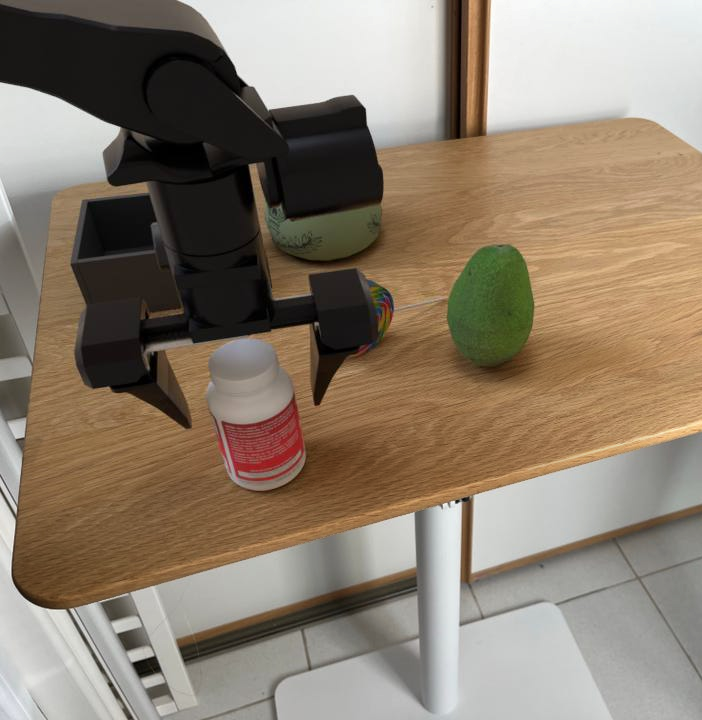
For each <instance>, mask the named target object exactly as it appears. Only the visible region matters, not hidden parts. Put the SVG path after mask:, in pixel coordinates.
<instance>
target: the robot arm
mask: <svg viewBox="0 0 702 720" xmlns="http://www.w3.org/2000/svg"><path fill="white" fill-rule="evenodd" d="M0 83H1V84H5V85H12V86H16V87H21V88H27V89H31V90H34V91H37V92H40V93H43V94H45V95H48V96H50V97H54V98H56V99H59V100H61V101H62V102H63V101H64V102H65V103H67V104H69V105H71V106H73V107H75V108H77V109H78V110H81V111H83V112H85V113H86V114H88V115H91V116H92V117H94V118H96V119H98V120H100V121H102V122H104V123H107V124H110V125H113V126H115V127H117V128H119V132H118V133H117V136H116V137H115V138H114V139H113V140H112V141H111V142H110V144H108V146H106V148H104V150H103V151H102V154H101V155H102V160H103V165H104V170H105V176H106V181H107V183H108V185H110V186H111V187H115V188H116V187H117V188H118V187H124V186H130V185H136V184H142V183H145V184H146V186H147V192H149V195H150V198H151V202H152V205H153V209H154V212H155V216H156V219H157V222H155V223H152V225H151V231H152V237H153V244H154V250H155V254H156V258H157V263H158V267H159V269H160V270H161V271H162V272H163V271H170V270H171V272H172V275H173V279H174V282H175V286H176V289H177V293H178V296H179V300H180V303H181V307H182V308H181V311H182V313H178V314H171V315H164V316H157V317H151V318H150V312H149V310H148V307H147V304H146V301H145V300H144V299H143V298H142V297H141V298H134V299H127V300H119V301H112V302H105V303H97V304H90V305H87V306H86V305H85V307H84V309H82V312H81V313H80V314H79V319H78V325H77V332H76V339H75V343H74V350H73V354H74V355H73V356H74V360H75V366H76V368H77V372H78V374H79V375H80V378H81V381H82V383H83V385H84V386H86V387H88V388H90V389H92V390H97V389H103V388H109V389H110V391H111V392H112V393H114V394H117V395H118V394H129V395H130V396H133V397H135V398H137V399H139V400H141V401H142V402H144V403H146V404H148V405H150V406H152V407H154V408H156V409H157V410H159V411H160V412H161V413H163V414H165V415H166V416H167V417H169V418H170V419H171V420H173V422H175V423H177V424H178V425H179V426H181V427H182V428H183V429H185V430H191V429H192V428H193V420H192V415H191V411H190V407H189V404H188V403H189V402H188V401H187V399H186V396H185V394H184V392H183V390H182V387H181V385H180V383H179V380H178V378H177V376H176V374H175V372H174V369H173V367H172V365H171V363H170V361H169V358H168V356H167V353H166V352H167V351H169V350H174V349H180V348H187V347H194V346H198V345H207V344H214V343H219V342H227V341H234V340H239V339H247V338H249V337H250V336H254V335H260V334H266V333H272V331H273V330H280V329H286V328H287V329H288V328H293V327H299V326H300V327H301V326H307V325H309V342H310V343H309V359H310V360H309V368H310V369H309V383H310V389H311V396H312V400H313V401H312V402H313V406H314V407H318V406H320V405H321V403H322V402H323V399H324V397H325V395H326V392H327V390H328V388H329V386H330V384H331V382H332V380H333V378H334V376H335V375H336V373H337V372H338V370H339V369H340V368H341V366H342V365H343V364H344V362H345V360H346V359H347V358H348V357H351V356H350V355H355V354H357V353H359V352H360V349H361V346H362V345H368V344H373V343H374V342H375V341H376V340H377V339H378V338H379V331H378V318H377V313H376V307H375V304H374V301H373V298H372V295H371V292H370V289H369V286H368V283H367V280H368V279H367V276H366V274H364V273H363V272H362V271H360V270H359V269H358V268H357V267H354V268H346V269H340V270H339V269H338V270H332V271H325V272H319V273H318V272H317V273H309V274H307V275H308V276H307V277H308V284H309V285H308V286H309V291H310V292H307V293H302V294H295V295H288V296H281V297H274V294H273V290H272V289H273V283H272V282H273V281H272V277H271V276H272V275H271V271H270V266H269V261H268V255H267V250H266V249H265V247H264V246H265V245H264V241H263V234H262V230H261V224H260V219H259V214H258V207H257V203H256V197H255V192H254V191H255V190H254V187H253V181H252V176H251V169H250V165H256V171H257V175H258V180H259V183H260V187H261V190H262V194H263V197H264V201H265V200H266V203H267V205H268V207H269V208H270V209H272V208H278V207H279V206H280V205H282V210H283V214H284V217H285V219H286V220H287V219H290V221H292V222H294V221H300V220H305V219H310V218H315V217H321V216H326V215H331V214H336V213H342V212H347V211H352V210H357V209H362V208H368V207H373V206H378V205H380V204H381V205H382V201H383V199H384V190H385V189H384V181H385V180H384V172H383V168H382V166H381V164H379V159H378V155H377V151H376V145H375V142H374V139H373V136H372V133H371V131H370V128H369V125H368V117H367V108H366V107H365V106H364V105H363V103H362V102H361V101H360V100H359V98H358V97H357V96H355V94H348V95H347V94H346V95H341V96H340V95H339V96H335V97H333V98H332V97H331V98H329V99H326V100H325V101H320V102H314V103H307V104H300V105H299V104H298V105H291V106H284V107H278V108H271V109H268V107H267V106H266V104H265V102H264V101H263V99H262V97H261V96H260V94H259V92H258V91H257V89H256V88H255V86H251V85H249V84H248V82H246V81H245V80H244V79H243V78H242V77H241V76H240V75H239V74H238V71H237V69H236V66H235V64H234V62H233V60H232V59H231V57H230V55H229V54H228V52H227V50H226V49H225V47H224V45H223V44H222V42H221V40H220V38H219V36H218V35H217V33H216V32H215V31H214V29H213V27H212V26H211V24H210V23H209V21H208V20H207V19H206V17H204V16H203V14H202V13H200V12H199V11H198V10H196V8H194V7H192V6H191V5H189V4H188V3H187V4H186V3H185V2H182V1H180V0H0ZM366 279H367V280H366ZM166 350H167V351H166Z"/></svg>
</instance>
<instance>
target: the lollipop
mask: <svg viewBox="0 0 702 720" xmlns="http://www.w3.org/2000/svg"><path fill="white" fill-rule="evenodd" d="M366 280H367V283H368V286H369V289H370V292H371V295H372V298H373V301H374V304H375V307H376V313H377V318H378V331H379V338H378V339H377V340H376V341H375V342H374V343H373V344H368V345H362V346H361V349H360V352H359V353H357V354H355V355H350V356H349V357H352V358H354V357H359V356H362V355H364V354H367V352H369V351H371V350H372V349H374V348H375V347H376V346H377V345H378V344H379V343H380V342H381V340H382V339H383V338H384V336H385V335H386V334H387V332H388V330H389V329H390V326H391V323H392V322H393V321H392V320H393V318H394V313H395V312H398V311H403V310H408V309H411V308H415V307H421V306H425V305H430V304H433V303H438V302H441V301H445V300H446V298H445V297H440V298H435V299H431V300H426V301H422V302H419V303H414V304H410V305H404V306H400V307H397V308H395V303H394V299H393V296H392V294H391V292H390V291H389V290H388V289H386V288H385V287H384V286H382V285H380V284H379V283H378V282H375V281H374V280H373V279H367V278H366Z"/></svg>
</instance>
